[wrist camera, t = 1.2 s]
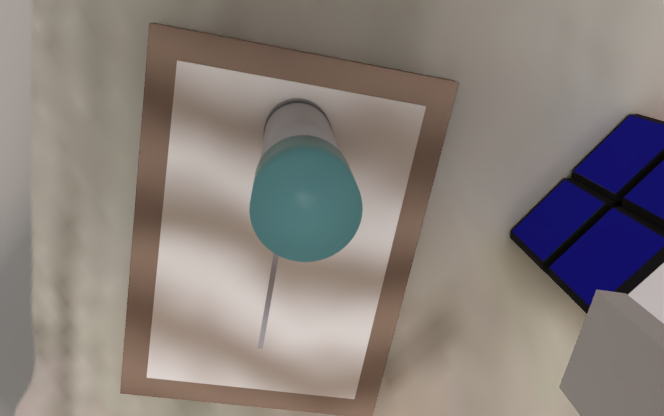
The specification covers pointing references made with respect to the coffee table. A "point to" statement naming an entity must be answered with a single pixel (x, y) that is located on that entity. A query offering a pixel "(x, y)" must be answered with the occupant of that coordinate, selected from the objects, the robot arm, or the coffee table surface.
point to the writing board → (242, 242)
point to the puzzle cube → (606, 221)
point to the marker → (303, 186)
